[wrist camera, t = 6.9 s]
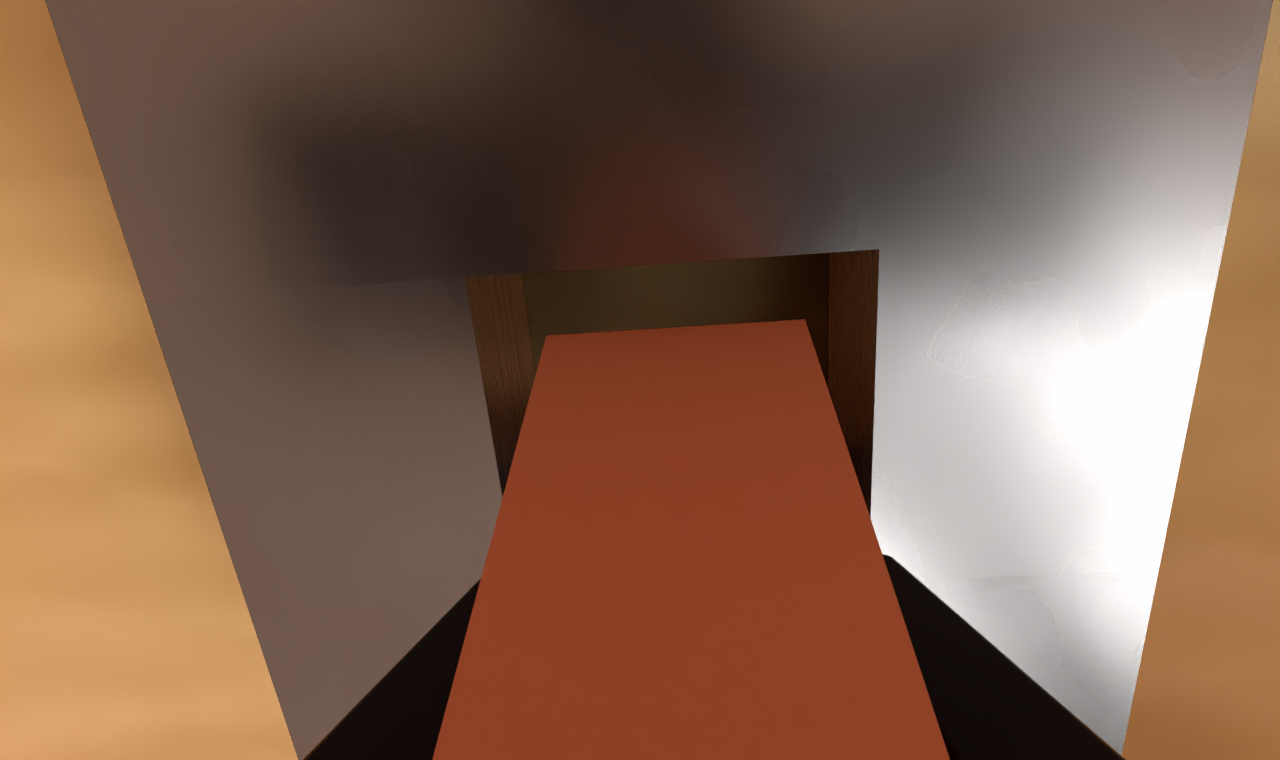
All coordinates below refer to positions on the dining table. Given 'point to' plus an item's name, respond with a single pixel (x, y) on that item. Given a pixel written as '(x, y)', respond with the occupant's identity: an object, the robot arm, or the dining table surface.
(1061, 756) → the robot arm
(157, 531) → the dining table surface
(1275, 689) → the dining table surface
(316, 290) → the grey square hole block
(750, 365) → the terracotta rectangular prism
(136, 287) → the dining table surface
